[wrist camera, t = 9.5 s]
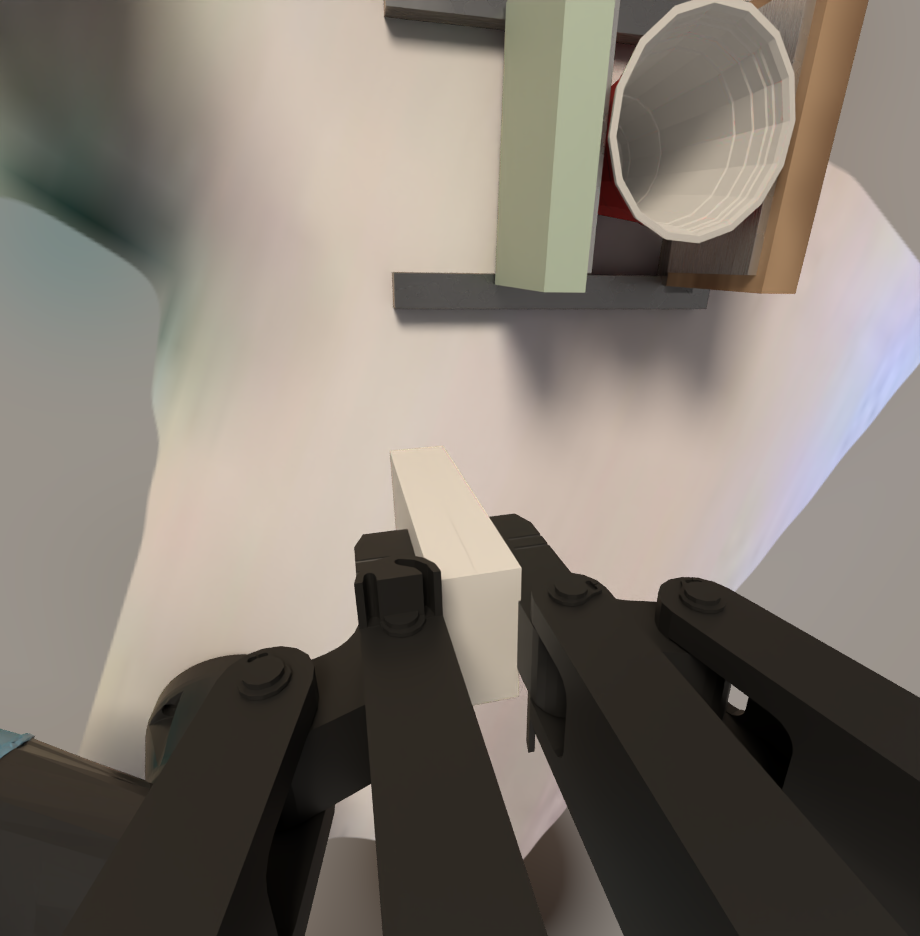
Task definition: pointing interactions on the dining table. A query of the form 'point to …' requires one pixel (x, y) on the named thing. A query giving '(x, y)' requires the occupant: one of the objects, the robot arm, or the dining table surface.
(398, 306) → the vise bed
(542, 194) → the block
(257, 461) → the dining table surface
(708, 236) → the plastic cup
